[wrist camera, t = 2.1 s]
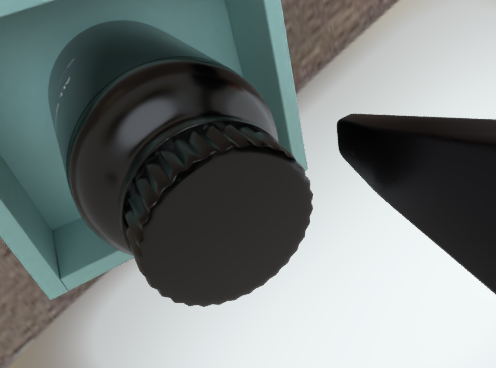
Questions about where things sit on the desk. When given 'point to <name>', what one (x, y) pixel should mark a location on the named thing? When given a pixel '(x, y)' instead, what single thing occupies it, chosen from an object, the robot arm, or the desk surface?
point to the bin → (42, 130)
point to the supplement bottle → (176, 162)
